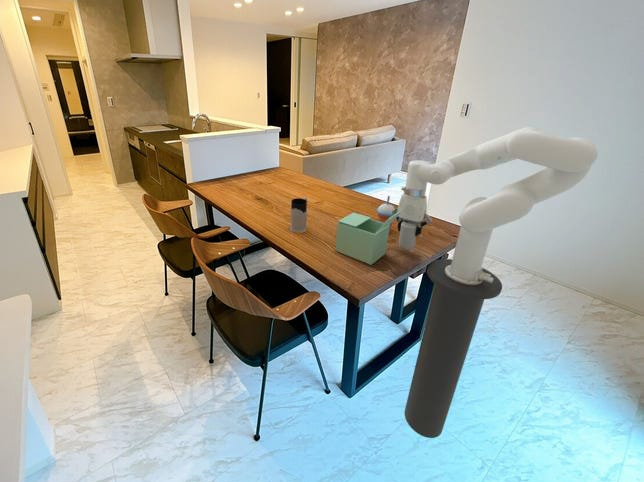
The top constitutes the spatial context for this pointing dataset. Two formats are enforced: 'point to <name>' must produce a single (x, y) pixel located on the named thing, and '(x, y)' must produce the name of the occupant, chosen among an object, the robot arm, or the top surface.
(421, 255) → the top surface
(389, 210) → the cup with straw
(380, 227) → the flap
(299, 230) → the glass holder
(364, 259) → the carton
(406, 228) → the beverage can
